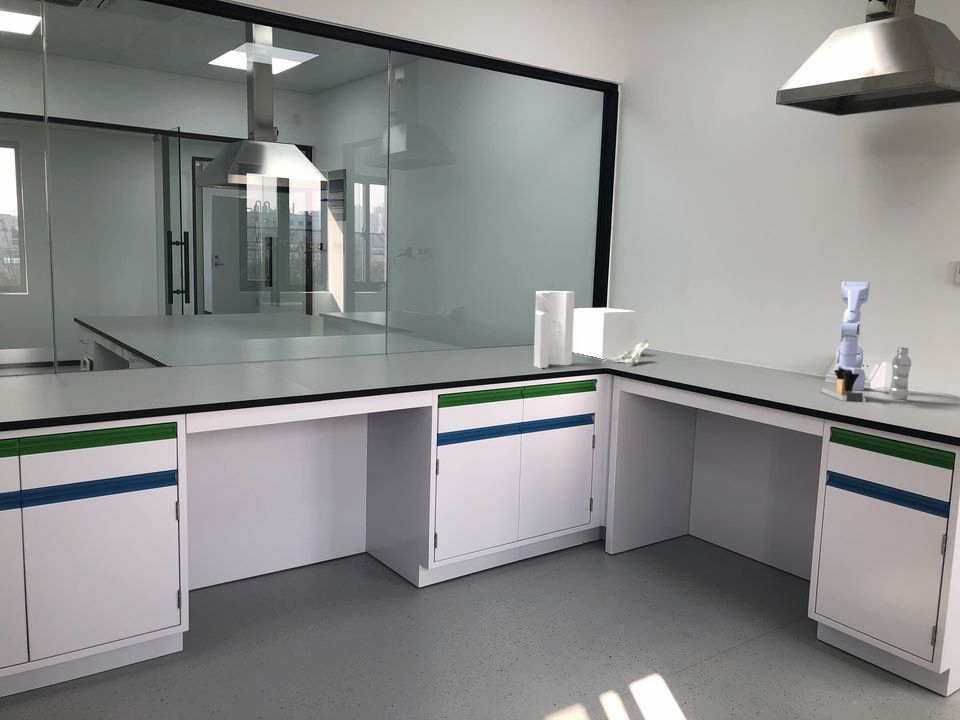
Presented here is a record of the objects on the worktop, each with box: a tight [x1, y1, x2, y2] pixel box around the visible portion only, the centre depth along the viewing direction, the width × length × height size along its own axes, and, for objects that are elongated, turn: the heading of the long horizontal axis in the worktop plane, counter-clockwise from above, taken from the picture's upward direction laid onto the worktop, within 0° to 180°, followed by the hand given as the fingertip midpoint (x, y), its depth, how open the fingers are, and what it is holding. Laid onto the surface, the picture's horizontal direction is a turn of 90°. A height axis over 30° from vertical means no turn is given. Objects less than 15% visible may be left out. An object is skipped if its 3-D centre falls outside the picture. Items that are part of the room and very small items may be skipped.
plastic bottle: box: [888, 347, 912, 401], centre depth 289 cm, size 6×7×20 cm
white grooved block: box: [533, 290, 575, 368], centre depth 359 cm, size 35×11×21 cm
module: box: [835, 378, 854, 395], centre depth 289 cm, size 4×4×6 cm
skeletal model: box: [601, 337, 650, 368], centre depth 373 cm, size 16×9×25 cm
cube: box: [572, 307, 637, 360], centre depth 401 cm, size 25×21×24 cm
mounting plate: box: [819, 387, 867, 403], centre depth 291 cm, size 10×18×4 cm, turn 0°
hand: (845, 389), depth 289 cm, fingers closed on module, 4 cm apart
